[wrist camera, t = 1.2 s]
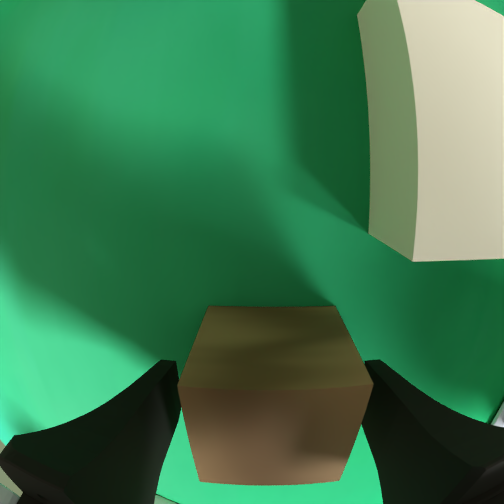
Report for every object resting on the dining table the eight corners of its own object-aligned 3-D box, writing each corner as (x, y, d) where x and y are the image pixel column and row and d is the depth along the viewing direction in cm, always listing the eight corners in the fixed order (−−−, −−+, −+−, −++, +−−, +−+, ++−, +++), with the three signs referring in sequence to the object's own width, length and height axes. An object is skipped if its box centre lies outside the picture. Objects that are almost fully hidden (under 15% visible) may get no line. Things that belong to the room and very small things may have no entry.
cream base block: (506, 66, 8) (555, 52, 4) (514, 234, 11) (567, 255, 7) (354, 18, 9) (387, -33, 5) (365, 231, 11) (412, 261, 7)
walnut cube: (335, 305, 11) (373, 383, 7) (321, 397, 13) (339, 480, 8) (208, 304, 12) (176, 385, 7) (216, 397, 13) (199, 481, 8)
